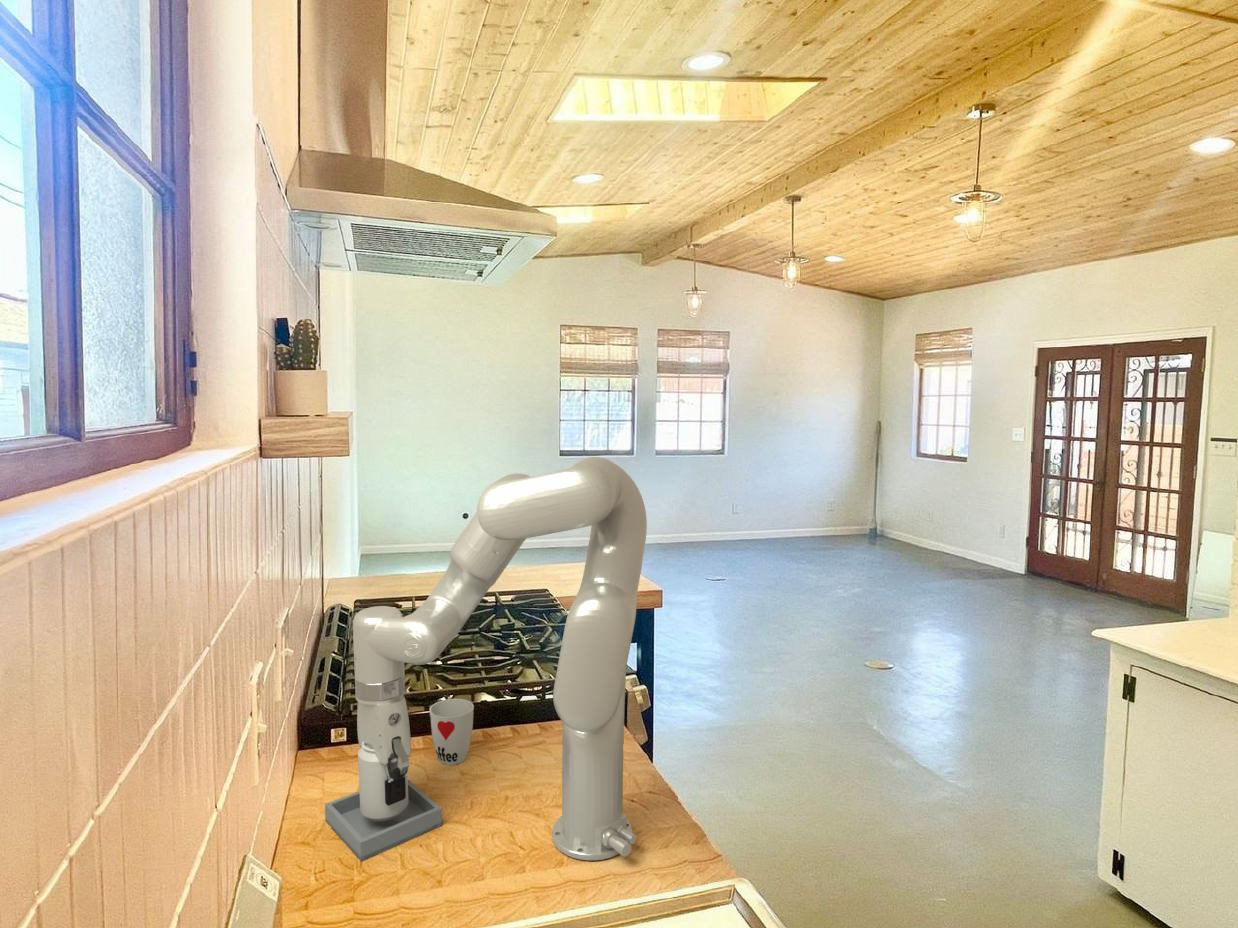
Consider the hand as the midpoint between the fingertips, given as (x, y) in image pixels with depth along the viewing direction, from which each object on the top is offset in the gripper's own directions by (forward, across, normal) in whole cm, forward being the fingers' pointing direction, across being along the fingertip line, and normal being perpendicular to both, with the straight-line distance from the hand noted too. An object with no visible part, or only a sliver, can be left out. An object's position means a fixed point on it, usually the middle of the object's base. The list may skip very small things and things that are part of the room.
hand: (383, 790), depth 121 cm
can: (+4, 0, 0) cm, 4 cm away
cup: (+6, +11, -19) cm, 23 cm away
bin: (+6, 0, 0) cm, 6 cm away
